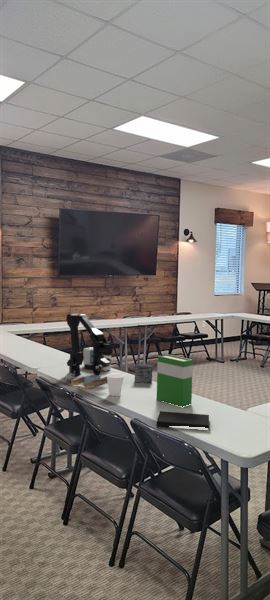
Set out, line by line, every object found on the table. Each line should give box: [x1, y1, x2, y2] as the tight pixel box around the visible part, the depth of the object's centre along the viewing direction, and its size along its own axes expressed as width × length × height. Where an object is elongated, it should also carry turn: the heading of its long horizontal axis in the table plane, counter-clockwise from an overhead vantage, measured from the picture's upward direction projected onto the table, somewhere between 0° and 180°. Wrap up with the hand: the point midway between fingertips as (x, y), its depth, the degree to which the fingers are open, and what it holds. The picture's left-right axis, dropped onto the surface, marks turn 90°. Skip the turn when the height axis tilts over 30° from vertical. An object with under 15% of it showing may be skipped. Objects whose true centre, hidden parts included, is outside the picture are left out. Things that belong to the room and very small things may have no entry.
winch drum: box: [65, 371, 76, 384], centre depth 270 cm, size 6×4×8 cm
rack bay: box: [69, 372, 108, 390], centre depth 270 cm, size 13×25×3 cm, turn 146°
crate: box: [83, 373, 102, 384], centre depth 270 cm, size 7×7×5 cm
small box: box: [133, 363, 153, 384], centre depth 275 cm, size 11×6×10 cm, turn 84°
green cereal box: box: [156, 353, 194, 407], centre depth 235 cm, size 18×7×24 cm, turn 45°
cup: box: [105, 372, 125, 397], centre depth 246 cm, size 10×10×11 cm
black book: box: [156, 410, 210, 429], centre depth 205 cm, size 14×23×3 cm, turn 81°
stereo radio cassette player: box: [82, 340, 112, 372], centre depth 307 cm, size 21×8×20 cm, turn 49°
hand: (97, 378), depth 274 cm, fingers closed
